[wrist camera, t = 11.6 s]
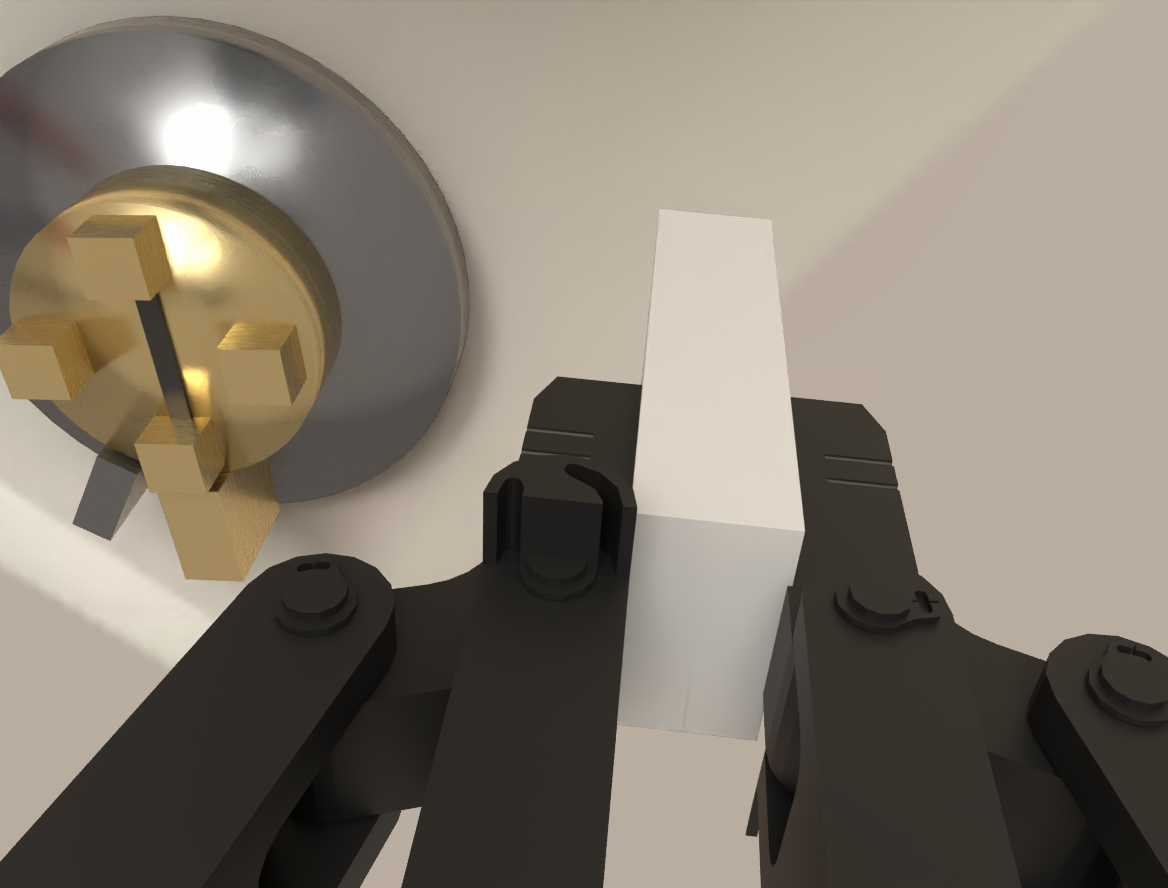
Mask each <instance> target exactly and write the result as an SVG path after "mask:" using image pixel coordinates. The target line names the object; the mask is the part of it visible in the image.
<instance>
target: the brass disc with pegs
mask: <svg viewBox="0 0 1168 888" xmlns="http://www.w3.org/2000/svg"><path fill="white" fill-rule="evenodd" d="M9 311H10V317H11V324H12V326H11V327H10V328H8V329H7V330H6V331H5V332H4V333H3V334H2V335H1V336H0V369H1V371H2V374H3V376H4V379H5V381H6V384H7V386H8V389H9V392H10V394H11V397H12V399H39V400H51V401H52V402H53V403H54V404H55V405H56V406H57V407H58V408H59V409H60V410H61V411H62V412H63V413H64V414H65V415H66V416H67V417H68V418H69V419H70V420H72V421H73V422H74V423H75V424H76V425H77V426H79V427H80V428H81V429H83V430H84V431H85V432H87V433H88V434H89V435H91V436H92V437H94V438H96V439H97V440H99V441H100V442H102V443H104V444H105V445H107V446H108V447H110V448H112V449H114V450H116V451H118V452H120V453H122V454H124V455H126V456H129V457H131V458H134V459H137V460H139V461H140V464H141V467H142V470H143V473H144V476H145V479H146V482H147V485H148V488H149V491H150V492H158V494H159V497H160V500H161V504H162V507H163V510H164V513H165V516H166V519H167V522H168V525H169V528H170V532H171V535H172V538H173V541H174V544H175V547H176V550H177V553H178V556H179V560H180V563H181V566H182V569H183V572H184V575H185V578H186V579H197V580H222V581H244V579H245V577H246V575H247V573H248V571H249V570H250V568H251V566H252V564H253V562H254V560H255V558H256V556H257V554H258V552H259V550H260V548H261V546H262V544H263V542H264V540H265V538H266V537H267V535H268V533H269V531H270V529H271V527H272V525H273V523H274V521H275V519H276V517H277V515H278V513H279V511H280V507H279V503H278V499H277V495H276V490H275V486H274V482H273V478H272V474H271V470H270V466H269V462H268V457H269V456H271V455H272V454H274V453H276V452H277V451H278V450H280V449H281V448H282V447H283V446H284V445H285V444H287V443H288V442H289V441H290V440H291V438H292V437H293V436H294V435H295V434H296V432H297V431H298V430H299V428H300V427H301V425H302V423H303V422H304V420H305V418H306V416H307V414H308V413H309V411H310V409H311V407H312V405H313V403H314V402H315V400H316V398H317V396H318V394H319V392H320V391H321V389H322V387H323V385H324V383H325V381H326V380H327V378H328V376H329V374H330V372H331V370H332V369H333V366H334V364H335V361H336V358H337V356H338V353H339V348H340V342H341V334H342V318H341V309H340V303H339V299H338V295H337V291H336V287H335V285H334V282H333V280H332V277H331V275H330V272H329V270H328V268H327V266H326V265H325V263H324V261H323V259H322V257H321V255H320V254H319V252H318V251H317V249H316V248H315V247H314V245H313V244H312V242H311V241H310V239H309V238H308V237H307V236H306V235H305V233H304V232H303V231H302V230H301V229H300V228H299V227H298V226H297V224H296V223H295V222H294V221H293V220H292V219H290V218H289V217H288V216H287V215H286V214H285V213H284V212H283V211H282V210H281V209H279V208H278V207H277V206H275V205H274V204H273V203H271V202H270V201H269V200H267V199H266V198H265V197H263V196H262V195H260V194H258V193H257V192H255V191H253V190H251V189H250V188H248V187H246V186H245V185H243V184H240V183H238V182H236V181H234V180H231V179H229V178H227V177H225V176H222V175H218V174H215V173H212V172H209V171H206V170H202V169H197V168H192V167H186V166H176V165H152V166H143V167H138V168H133V169H128V170H125V171H122V172H120V173H117V174H114V175H112V176H110V177H108V178H106V179H105V180H103V181H101V182H99V183H98V184H96V185H95V186H94V187H92V188H91V189H90V190H89V191H88V192H86V193H85V194H84V195H83V196H82V197H80V198H79V199H78V200H77V201H76V202H74V203H73V204H72V205H71V206H70V207H68V208H67V209H66V210H65V211H64V212H62V213H61V214H60V215H59V216H58V217H56V218H55V219H54V220H53V221H51V222H50V223H49V224H48V225H47V226H45V227H44V228H43V229H42V230H41V231H39V232H38V233H37V234H36V235H35V236H34V237H33V238H32V240H31V241H30V242H29V243H28V244H27V246H26V247H25V248H24V250H23V252H22V254H21V256H20V257H19V259H18V261H17V263H16V266H15V269H14V272H13V275H12V279H11V286H10V293H9Z"/></svg>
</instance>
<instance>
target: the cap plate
mask: <svg viewBox="0 0 1168 888" xmlns="http://www.w3.org/2000/svg"><path fill="white" fill-rule="evenodd" d="M152 165H176V166H186V167H192V168H197V169H202V170H206V171H209V172H212V173H215V174H218V175H222V176H225V177H227V178H229V179H231V180H234V181H236V182H238V183H240V184H243V185H245V186H246V187H248V188H250V189H251V190H253V191H255V192H257V193H258V194H260V195H262V196H263V197H265V198H266V199H267V200H269V201H270V202H271V203H273V204H274V205H275V206H277V207H278V208H279V209H281V210H282V211H283V212H284V213H285V214H286V215H287V216H288V217H289V218H290V219H292V220H293V221H294V222H295V223H296V224H297V226H298V227H299V228H300V229H301V230H302V231H303V232H304V233H305V235H306V236H307V237H308V238H309V239H310V241H311V242H312V244H313V245H314V247H315V248H316V249H317V251H318V252H319V254H320V255H321V257H322V259H323V261H324V263H325V265H326V266H327V268H328V270H329V272H330V275H331V277H332V280H333V282H334V285H335V287H336V291H337V295H338V299H339V303H340V309H341V318H342V334H341V342H340V348H339V353H338V356H337V358H336V361H335V364H334V366H333V369H332V370H331V372H330V374H329V376H328V378H327V380H326V381H325V383H324V385H323V387H322V389H321V391H320V392H319V394H318V396H317V398H316V400H315V402H314V403H313V405H312V407H311V409H310V411H309V413H308V414H307V416H306V418H305V420H304V422H303V423H302V425H301V427H300V428H299V430H298V431H297V432H296V434H295V435H294V436H293V437H292V438H291V440H290V441H289V442H288V443H287V444H285V445H284V446H283V447H282V448H281V449H280V450H278V451H277V452H276V453H274V454H272V455H271V456H269V457H268V462H269V466H270V470H271V474H272V478H273V482H274V486H275V490H276V495H277V499H278V503H279V504H282V503H291V502H300V501H308V500H312V499H317V498H321V497H325V496H329V495H334V494H336V493H339V492H342V491H344V490H347V489H350V488H352V487H355V486H358V485H360V484H362V483H364V482H366V481H367V480H369V479H371V478H373V477H375V476H377V475H378V474H380V473H382V472H383V471H385V470H386V469H387V468H389V467H390V466H391V465H393V464H394V463H396V462H397V461H398V460H400V459H401V458H402V457H403V456H404V455H405V454H406V453H407V452H408V451H409V450H410V449H411V448H412V447H413V446H414V445H415V444H416V443H417V442H418V441H419V440H420V439H421V438H422V436H423V435H424V433H425V432H426V431H427V429H428V428H429V426H430V425H431V424H432V422H433V421H434V419H435V418H436V416H437V414H438V412H439V410H440V408H441V406H442V404H443V402H444V400H445V398H446V396H447V394H448V391H449V388H450V386H451V383H452V380H453V377H454V375H455V372H456V369H457V366H458V363H459V360H460V356H461V353H462V350H463V347H464V343H465V338H466V331H467V324H468V317H469V283H468V277H467V270H466V263H465V257H464V252H463V249H462V245H461V242H460V238H459V235H458V231H457V228H456V225H455V222H454V219H453V217H452V215H451V213H450V210H449V208H448V206H447V203H446V201H445V199H444V197H443V194H442V192H441V190H440V189H439V187H438V185H437V183H436V182H435V180H434V178H433V177H432V175H431V173H430V172H429V170H428V168H427V167H426V165H425V163H424V161H423V160H422V159H421V157H420V156H419V155H418V154H417V152H416V151H415V150H414V148H413V147H412V146H411V144H410V143H409V142H408V140H407V139H406V138H405V136H404V135H403V134H402V133H401V131H400V130H399V129H398V128H397V127H396V126H395V125H394V124H393V123H392V122H391V121H390V120H389V119H388V118H387V117H386V116H385V115H384V114H383V113H382V112H381V111H380V110H379V108H378V107H377V106H376V105H375V104H374V103H372V102H371V101H370V100H369V99H368V98H366V97H365V96H364V95H363V94H361V93H360V92H359V91H358V90H357V89H355V88H354V87H353V86H352V85H351V84H349V83H348V82H347V81H346V80H344V79H343V78H342V77H340V76H338V75H337V74H335V73H334V72H332V71H331V70H329V69H328V68H326V67H325V66H323V65H322V64H320V63H318V62H317V61H315V60H314V59H312V58H311V57H309V56H307V55H305V54H303V53H301V52H299V51H297V50H295V49H293V48H291V47H289V46H287V45H284V44H282V43H280V42H278V41H276V40H274V39H271V38H268V37H265V36H263V35H260V34H257V33H254V32H251V31H249V30H246V29H243V28H240V27H236V26H232V25H227V24H223V23H218V22H214V21H209V20H204V19H197V18H185V17H173V16H153V17H135V18H126V19H122V20H117V21H112V22H107V23H103V24H98V25H95V26H92V27H89V28H87V29H84V30H82V31H79V32H77V33H74V34H71V35H69V36H66V37H64V38H63V39H61V40H59V41H57V42H56V43H54V44H52V45H50V46H48V47H47V48H45V49H43V50H41V51H40V52H38V53H36V54H34V55H33V56H31V57H30V58H28V59H26V60H25V61H23V62H21V63H20V64H18V65H16V66H15V67H13V68H11V69H10V70H9V71H8V72H6V73H5V74H4V75H3V76H2V77H1V78H0V336H1V335H2V334H3V333H4V332H5V331H6V330H7V329H8V328H10V327H11V326H12V324H11V317H10V311H9V293H10V286H11V279H12V275H13V272H14V269H15V266H16V263H17V261H18V259H19V257H20V256H21V254H22V252H23V250H24V248H25V247H26V246H27V244H28V243H29V242H30V241H31V240H32V238H33V237H34V236H35V235H36V234H37V233H38V232H39V231H41V230H42V229H43V228H44V227H45V226H47V225H48V224H49V223H50V222H51V221H53V220H54V219H55V218H56V217H58V216H59V215H60V214H61V213H62V212H64V211H65V210H66V209H67V208H68V207H70V206H71V205H72V204H73V203H74V202H76V201H77V200H78V199H79V198H80V197H82V196H83V195H84V194H85V193H86V192H88V191H89V190H90V189H91V188H92V187H94V186H95V185H96V184H98V183H99V182H101V181H103V180H105V179H106V178H108V177H110V176H112V175H114V174H117V173H120V172H122V171H125V170H128V169H133V168H138V167H143V166H152ZM29 400H30V401H31V402H32V403H33V404H34V405H35V406H36V407H37V408H38V409H39V410H40V411H42V412H43V413H44V414H45V415H46V416H47V417H48V418H49V419H50V420H51V421H52V422H54V423H55V424H56V425H58V426H59V427H60V428H61V429H63V430H64V431H65V432H67V433H68V434H69V435H70V436H72V437H73V438H74V439H76V440H77V441H78V442H80V443H81V444H83V445H85V446H86V447H88V448H89V449H91V450H92V451H94V452H95V453H97V454H99V455H98V456H97V458H96V461H95V464H94V466H93V469H92V472H91V475H90V477H89V480H88V483H87V485H86V488H85V491H84V494H83V496H82V499H81V502H80V504H79V507H78V510H77V513H76V515H75V518H74V521H73V524H74V525H76V526H78V527H81V528H83V529H85V530H87V531H90V532H92V533H94V534H96V535H98V536H101V537H103V538H105V539H107V540H110V541H111V539H112V538H113V537H114V535H115V534H116V532H117V531H118V529H119V528H120V526H121V525H122V524H123V522H124V521H125V519H126V518H127V516H128V515H129V513H130V512H131V511H132V509H133V508H134V506H135V505H136V503H137V502H138V500H139V499H140V498H141V496H142V495H143V493H144V492H145V490H146V489H147V487H148V485H147V482H146V479H145V476H144V473H143V470H142V467H141V464H140V461H139V460H137V459H134V458H131V457H129V456H126V455H124V454H122V453H120V452H118V451H116V450H114V449H112V448H110V447H108V446H107V445H105V444H104V443H102V442H100V441H99V440H97V439H96V438H94V437H92V436H91V435H89V434H88V433H87V432H85V431H84V430H83V429H81V428H80V427H79V426H77V425H76V424H75V423H74V422H73V421H72V420H70V419H69V418H68V417H67V416H66V415H65V414H64V413H63V412H62V411H61V410H60V409H59V408H58V407H57V406H56V405H55V404H54V403H53V402H52V401H51V400H39V399H29Z"/></svg>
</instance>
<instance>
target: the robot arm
mask: <svg viewBox="0 0 1168 888" xmlns="http://www.w3.org/2000/svg"><path fill="white" fill-rule="evenodd" d="M897 487H898V482H897V478H896V474H895V469H894V466H892V457H891V452H890V448H889V443H888V439H887V435H886V431H885V430H884V429H883V428H882V427H881V426H880V424H879V423H877V421H876V420H875V419H874V418H873V417H872V415H871V414H870V413H869V412H868V411H867V410H866V409H865V408H864V406H863V405H862V404H852V403H843V402H833V401H824V400H814V399H804V398H794V397H790V390H789V380H788V371H787V362H786V353H785V345H784V335H783V326H782V317H781V307H780V298H779V289H778V280H777V271H776V262H775V252H774V243H773V234H772V225H771V220H769V219H759V218H748V217H738V216H727V215H716V214H706V213H695V212H685V211H674V210H664V209H660V212H659V221H658V231H657V240H656V249H655V259H654V268H653V278H652V287H651V296H650V306H649V315H648V325H647V334H646V343H645V353H644V362H643V371H642V381H641V385H636V384H626V383H616V382H606V381H597V380H587V379H577V378H567V377H557V378H555V379H554V380H553V381H552V382H551V383H550V384H549V385H548V386H547V387H546V388H545V389H544V390H543V391H542V392H541V393H540V394H538V395H537V396H536V397H535V398H534V401H533V405H532V409H531V413H530V417H529V421H528V425H527V432H526V434H525V438H524V442H523V446H522V453H521V454H520V458H519V461H515V462H513V463H511V464H510V465H508V466H507V467H505V468H504V469H502V470H500V471H499V472H497V473H496V474H494V475H493V477H492V479H491V480H490V482H489V483H488V485H487V487H486V488H485V490H484V492H483V562H482V563H480V564H479V565H477V566H476V567H475V568H473V569H472V570H470V571H469V572H467V573H464V574H462V575H459V576H457V577H455V578H452V579H450V580H446V581H442V582H437V583H432V584H428V585H421V586H413V587H405V588H397V589H392V588H391V584H390V583H389V582H388V581H387V579H386V578H385V577H384V576H383V575H382V574H381V572H380V571H379V570H378V569H377V568H376V567H374V566H372V565H369V564H367V563H365V562H363V561H361V560H359V559H357V558H355V557H350V556H342V555H335V554H328V553H324V554H316V555H308V556H299V557H295V558H292V559H290V560H287V561H285V562H282V563H280V564H277V565H274V566H272V567H269V568H268V569H267V570H266V571H264V572H263V573H262V574H260V575H259V576H258V577H257V578H255V579H254V580H253V581H252V582H250V583H249V584H248V585H247V586H246V587H245V588H244V589H243V590H242V592H241V593H240V594H239V595H238V596H237V597H236V598H235V599H234V601H233V602H232V603H231V604H230V605H229V606H228V607H227V608H226V609H225V611H224V612H223V613H222V614H221V615H220V616H219V617H218V618H217V620H216V621H215V622H214V623H213V624H212V625H211V626H210V627H209V629H208V630H207V631H206V632H205V633H204V634H203V635H202V636H201V637H200V639H199V640H198V641H197V642H196V643H195V644H194V645H193V646H192V648H191V649H190V650H189V651H188V652H187V653H186V654H185V655H184V657H183V658H182V659H181V660H180V661H179V662H178V663H177V664H176V665H175V667H174V668H173V669H172V670H171V671H170V672H169V673H168V674H167V676H166V677H165V678H164V679H163V680H162V681H161V682H160V683H159V685H158V686H157V687H156V688H155V689H154V690H153V691H152V692H151V693H150V695H149V696H148V697H147V698H146V699H145V700H144V701H143V702H142V704H141V705H140V706H139V707H138V708H137V709H136V710H135V711H134V713H133V714H132V715H131V716H130V717H129V718H128V719H127V720H126V722H125V723H124V724H123V725H122V726H121V727H120V728H119V729H118V730H117V732H116V733H115V734H114V735H113V736H112V737H111V738H110V740H109V741H108V742H107V743H106V744H105V745H104V746H103V747H102V748H101V749H100V751H99V752H98V753H97V754H96V755H95V756H94V757H93V758H92V760H91V761H90V762H89V763H88V764H87V765H86V766H85V767H84V769H83V770H82V771H81V772H80V773H79V774H78V775H77V776H76V777H75V779H74V780H73V781H72V782H71V783H70V784H69V785H68V786H67V788H66V789H65V790H64V791H63V792H62V793H61V794H60V795H59V796H58V798H57V799H56V800H55V801H54V802H53V803H52V804H51V805H50V807H49V808H48V809H47V810H46V811H45V812H44V813H43V814H42V816H41V817H40V818H39V819H38V820H37V821H36V822H35V823H34V824H33V826H32V827H31V828H30V829H29V830H28V831H27V832H26V833H25V835H24V836H23V837H22V838H21V839H20V840H19V841H18V842H17V843H16V845H15V846H14V847H13V848H12V849H11V850H10V851H9V852H8V854H7V855H6V856H5V857H4V858H3V859H2V860H1V861H0V888H360V886H361V884H362V883H363V881H364V879H365V877H366V875H367V874H368V872H369V870H370V869H371V867H372V865H373V863H374V862H375V860H376V858H377V856H378V855H379V853H380V851H381V849H382V848H383V846H384V844H385V842H386V841H387V839H388V837H389V835H390V834H391V832H392V830H393V828H394V827H395V825H396V823H397V821H398V819H399V816H400V813H401V810H405V809H411V808H417V807H422V808H421V812H420V816H419V819H418V824H417V827H416V831H415V835H414V839H413V843H412V847H411V851H410V855H409V859H408V863H407V867H406V871H405V875H404V879H403V883H402V887H401V888H603V881H604V869H605V858H606V846H607V835H608V834H607V833H608V823H609V812H610V800H611V788H612V777H613V765H614V753H615V742H616V730H617V725H625V726H634V727H642V728H652V729H660V730H668V731H677V732H686V733H694V734H703V735H712V736H720V737H730V738H738V739H747V740H756V741H757V738H758V733H759V729H760V724H761V720H762V716H763V712H764V725H765V744H766V749H765V753H764V758H763V762H762V766H761V770H760V774H759V779H758V783H757V787H756V791H755V795H754V799H753V803H752V808H751V812H750V816H749V821H748V826H747V831H746V835H747V836H756V837H757V834H758V830H759V849H760V875H761V888H1168V657H1166V656H1165V655H1163V654H1161V653H1160V652H1158V651H1156V650H1154V649H1153V648H1151V647H1149V646H1146V645H1143V644H1140V643H1137V642H1134V641H1131V640H1128V639H1125V638H1122V637H1119V636H1110V635H1097V634H1086V635H1082V636H1078V637H1074V638H1070V639H1066V640H1064V641H1063V642H1062V643H1061V644H1059V645H1058V646H1057V647H1056V648H1055V649H1054V650H1053V651H1052V652H1051V653H1050V654H1049V656H1048V659H1047V661H1044V660H1041V659H1038V658H1035V657H1032V656H1029V655H1027V654H1023V653H1021V652H1018V651H1014V650H1012V649H1009V648H1006V647H1003V646H1000V645H997V644H995V643H993V642H990V641H988V640H986V639H983V638H981V637H979V636H976V635H974V634H972V633H970V632H969V631H967V630H965V629H964V628H962V627H961V626H959V625H958V624H956V623H955V622H954V618H953V614H952V612H951V610H950V609H949V607H948V605H947V603H946V601H945V599H944V597H943V595H942V594H941V593H940V592H939V591H938V590H937V589H936V588H934V587H933V586H932V585H931V584H930V583H929V582H928V581H927V580H926V579H924V578H923V577H922V576H920V575H919V574H918V569H917V565H916V561H915V556H914V553H913V548H912V543H911V539H910V535H909V530H908V526H907V521H906V518H905V513H904V508H903V505H902V500H901V495H900V491H899V490H897Z"/></svg>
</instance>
